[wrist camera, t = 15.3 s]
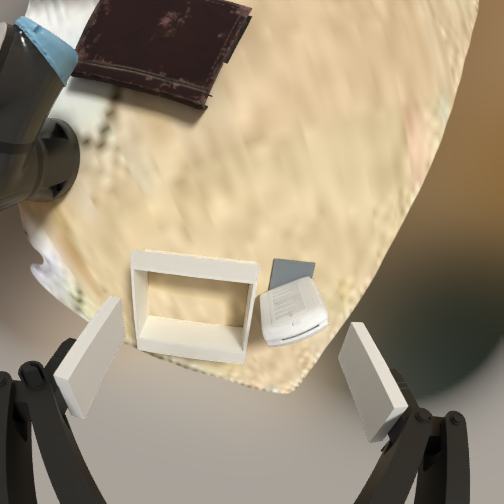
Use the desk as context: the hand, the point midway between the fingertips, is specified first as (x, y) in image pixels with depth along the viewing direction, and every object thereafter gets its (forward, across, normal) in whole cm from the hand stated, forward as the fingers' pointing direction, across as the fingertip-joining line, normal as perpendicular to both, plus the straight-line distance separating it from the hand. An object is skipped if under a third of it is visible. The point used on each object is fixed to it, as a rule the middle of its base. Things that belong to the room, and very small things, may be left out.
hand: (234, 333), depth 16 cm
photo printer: (+31, +10, -14) cm, 36 cm away
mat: (+32, +10, -14) cm, 36 cm away
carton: (+32, -6, -16) cm, 36 cm away
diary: (+32, -17, +26) cm, 45 cm away
